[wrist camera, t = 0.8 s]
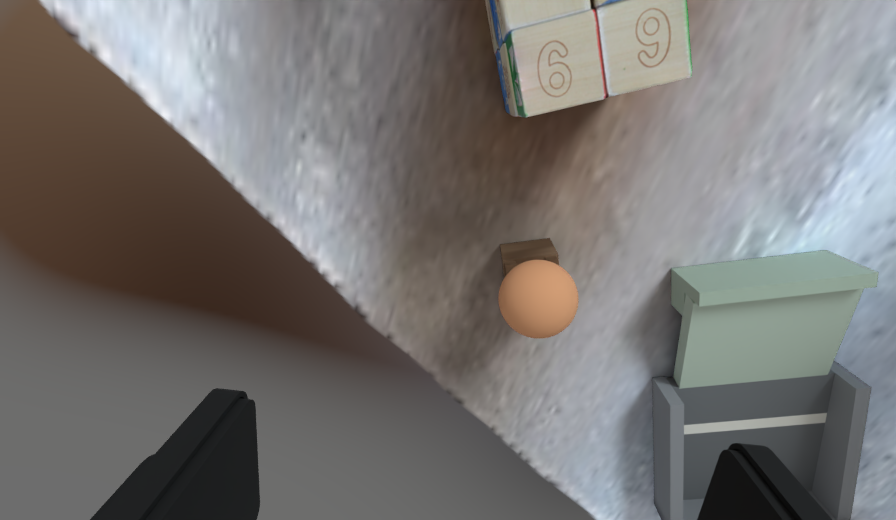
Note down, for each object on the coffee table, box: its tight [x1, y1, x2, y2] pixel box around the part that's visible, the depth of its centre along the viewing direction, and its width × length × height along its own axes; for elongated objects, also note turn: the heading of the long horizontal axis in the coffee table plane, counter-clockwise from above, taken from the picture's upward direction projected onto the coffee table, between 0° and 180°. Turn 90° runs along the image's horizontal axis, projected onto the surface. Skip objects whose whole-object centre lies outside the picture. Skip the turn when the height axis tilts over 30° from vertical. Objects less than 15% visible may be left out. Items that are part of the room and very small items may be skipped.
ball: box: [499, 260, 578, 338], centre depth 24 cm, size 4×4×4 cm
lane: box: [652, 361, 871, 520], centre depth 30 cm, size 11×11×4 cm
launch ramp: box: [671, 250, 879, 389], centre depth 27 cm, size 9×8×4 cm
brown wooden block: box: [500, 238, 559, 278], centre depth 27 cm, size 3×3×4 cm
